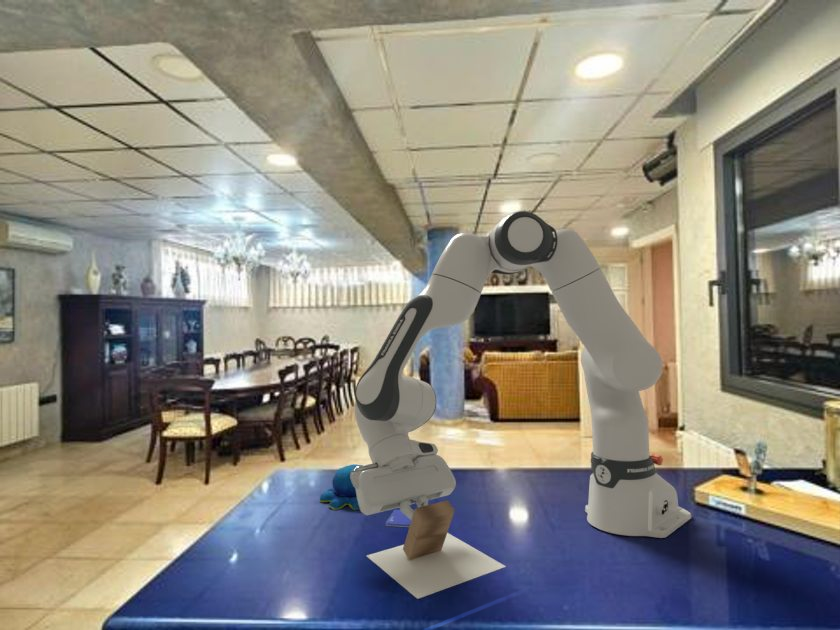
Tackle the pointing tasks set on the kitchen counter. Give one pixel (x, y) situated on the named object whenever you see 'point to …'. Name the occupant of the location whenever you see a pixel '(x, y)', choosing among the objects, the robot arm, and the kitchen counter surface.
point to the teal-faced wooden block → (428, 529)
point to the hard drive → (398, 519)
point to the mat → (435, 566)
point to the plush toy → (342, 490)
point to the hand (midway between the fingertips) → (422, 523)
